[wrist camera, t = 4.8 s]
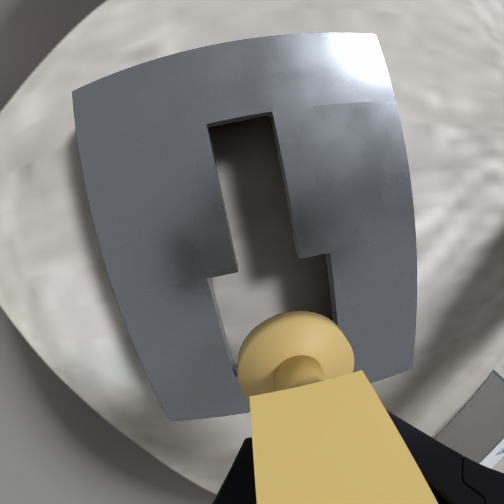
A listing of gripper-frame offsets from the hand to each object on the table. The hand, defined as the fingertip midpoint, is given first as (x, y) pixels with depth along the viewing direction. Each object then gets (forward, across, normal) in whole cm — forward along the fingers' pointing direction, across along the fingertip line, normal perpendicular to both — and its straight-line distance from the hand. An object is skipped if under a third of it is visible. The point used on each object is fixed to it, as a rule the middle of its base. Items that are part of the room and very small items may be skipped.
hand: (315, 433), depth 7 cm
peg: (+4, 0, 0) cm, 4 cm away
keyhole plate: (+11, 0, -4) cm, 12 cm away
